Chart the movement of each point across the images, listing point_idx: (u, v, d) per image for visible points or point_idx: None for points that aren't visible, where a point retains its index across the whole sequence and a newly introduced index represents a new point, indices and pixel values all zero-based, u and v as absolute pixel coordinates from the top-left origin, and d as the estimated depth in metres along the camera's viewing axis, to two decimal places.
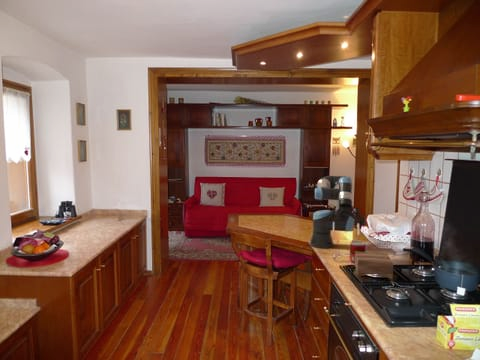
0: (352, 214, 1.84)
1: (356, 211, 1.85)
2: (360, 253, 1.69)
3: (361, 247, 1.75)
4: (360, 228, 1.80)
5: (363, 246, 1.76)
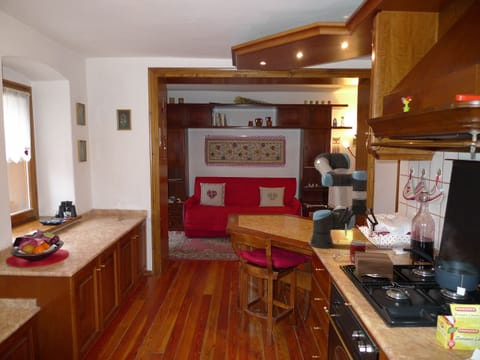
0: (366, 216, 1.75)
1: (370, 212, 1.75)
2: (360, 253, 1.69)
3: (361, 247, 1.75)
4: None
5: (363, 246, 1.76)
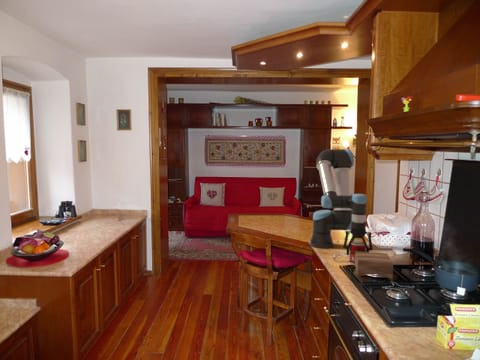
0: (363, 240, 1.77)
1: (368, 237, 1.76)
2: (360, 253, 1.69)
3: (361, 246, 1.75)
4: None
5: (363, 246, 1.76)
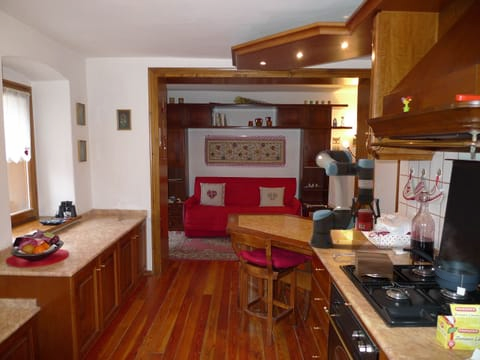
0: (371, 206, 1.69)
1: (376, 203, 1.68)
2: (360, 253, 1.69)
3: (369, 213, 1.67)
4: (375, 223, 1.69)
5: (371, 213, 1.67)
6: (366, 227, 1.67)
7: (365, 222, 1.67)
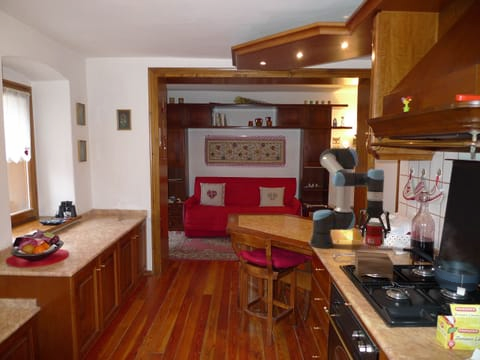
0: (380, 220, 1.60)
1: (386, 216, 1.59)
2: (360, 253, 1.69)
3: (379, 227, 1.58)
4: (385, 238, 1.60)
5: (380, 226, 1.59)
6: (375, 241, 1.59)
7: (375, 236, 1.59)
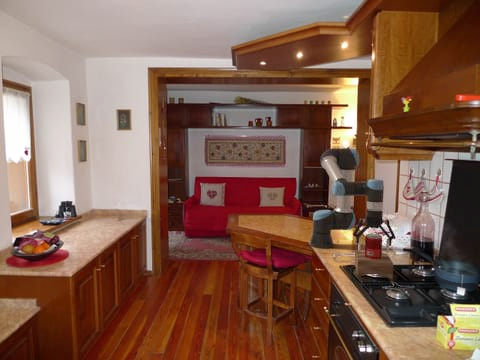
0: (382, 229, 1.60)
1: (387, 225, 1.59)
2: (360, 253, 1.69)
3: (378, 240, 1.59)
4: (390, 245, 1.60)
5: (380, 239, 1.59)
6: (375, 254, 1.59)
7: (374, 248, 1.59)
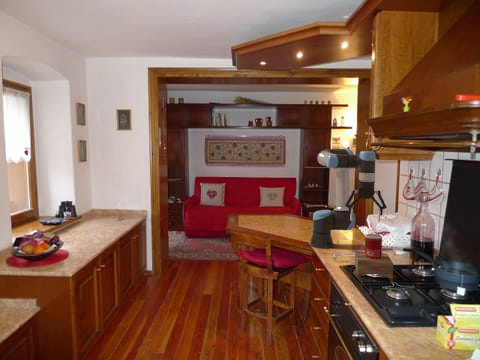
0: (373, 199, 1.64)
1: (378, 195, 1.64)
2: (360, 253, 1.69)
3: (378, 240, 1.59)
4: (381, 215, 1.65)
5: (380, 239, 1.59)
6: (375, 254, 1.59)
7: (374, 249, 1.59)
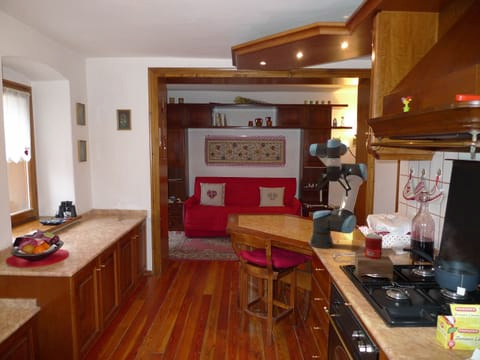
0: (339, 182, 1.85)
1: (344, 178, 1.84)
2: (360, 253, 1.69)
3: (378, 240, 1.59)
4: (346, 196, 1.85)
5: (380, 239, 1.59)
6: (375, 254, 1.59)
7: (374, 249, 1.59)
